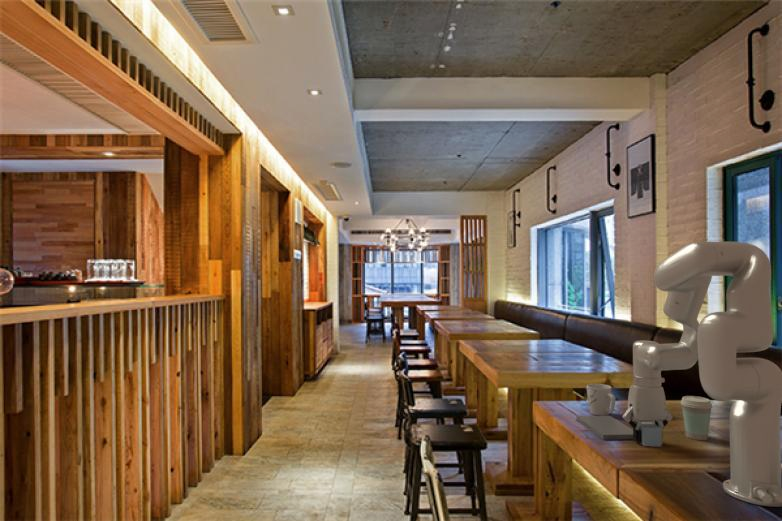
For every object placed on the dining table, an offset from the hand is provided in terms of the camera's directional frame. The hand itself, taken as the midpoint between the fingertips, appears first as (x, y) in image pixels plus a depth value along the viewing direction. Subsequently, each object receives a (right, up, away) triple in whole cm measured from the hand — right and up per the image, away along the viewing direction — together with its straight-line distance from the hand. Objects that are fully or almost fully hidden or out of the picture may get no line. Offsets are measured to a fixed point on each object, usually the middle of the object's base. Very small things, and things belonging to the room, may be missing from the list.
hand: (647, 441), depth 150 cm
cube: (0, -1, 0) cm, 1 cm away
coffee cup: (+18, -1, +5) cm, 19 cm away
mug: (-1, -2, +30) cm, 30 cm away
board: (-7, -1, +13) cm, 15 cm away
